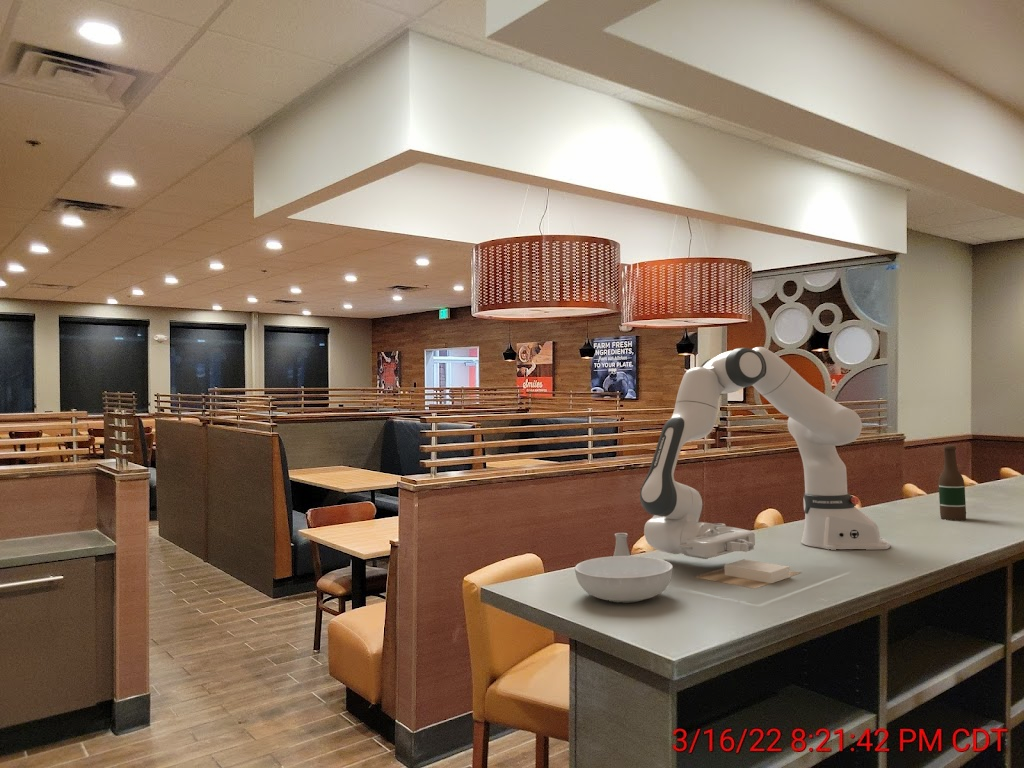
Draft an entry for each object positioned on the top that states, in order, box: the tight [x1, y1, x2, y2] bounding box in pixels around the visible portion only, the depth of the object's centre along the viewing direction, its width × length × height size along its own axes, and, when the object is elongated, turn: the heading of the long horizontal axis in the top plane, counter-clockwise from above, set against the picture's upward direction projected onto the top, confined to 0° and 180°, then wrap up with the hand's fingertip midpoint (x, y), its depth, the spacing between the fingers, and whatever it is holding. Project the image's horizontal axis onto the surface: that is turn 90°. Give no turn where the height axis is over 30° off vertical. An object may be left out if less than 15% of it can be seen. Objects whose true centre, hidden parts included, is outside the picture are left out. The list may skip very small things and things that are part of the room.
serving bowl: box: [574, 555, 674, 604], centre depth 159 cm, size 21×21×7 cm
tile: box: [723, 559, 791, 584], centre depth 172 cm, size 2×8×12 cm
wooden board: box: [694, 567, 802, 589], centre depth 173 cm, size 16×20×1 cm
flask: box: [613, 532, 632, 556], centre depth 179 cm, size 7×7×10 cm
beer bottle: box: [938, 444, 967, 522], centre depth 243 cm, size 8×8×24 cm
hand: (750, 547), depth 173 cm, fingers closed
